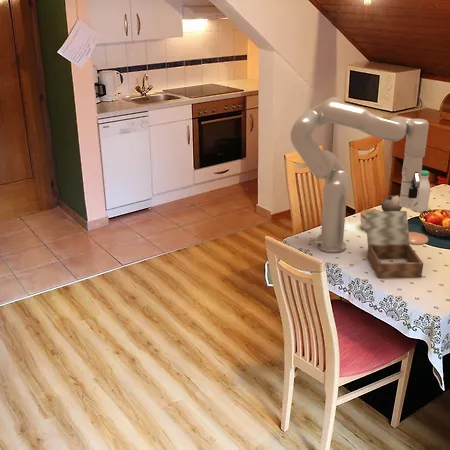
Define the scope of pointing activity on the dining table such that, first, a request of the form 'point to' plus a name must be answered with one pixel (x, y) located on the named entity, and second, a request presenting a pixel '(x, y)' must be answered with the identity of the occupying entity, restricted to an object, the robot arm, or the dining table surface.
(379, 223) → the cold frame
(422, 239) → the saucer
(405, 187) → the syrup box
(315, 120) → the robot arm
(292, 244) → the dining table surface
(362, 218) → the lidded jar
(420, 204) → the milk bottle
